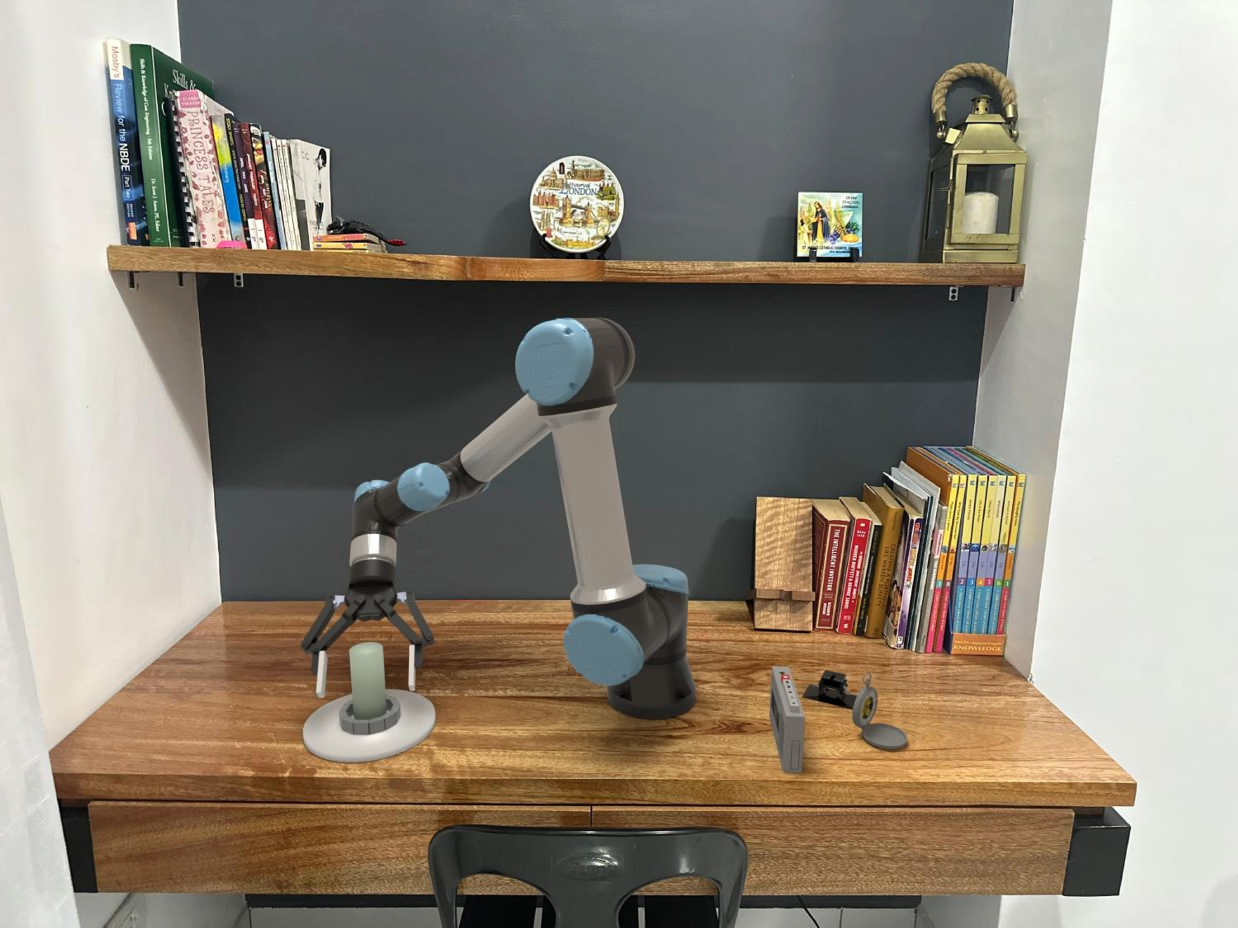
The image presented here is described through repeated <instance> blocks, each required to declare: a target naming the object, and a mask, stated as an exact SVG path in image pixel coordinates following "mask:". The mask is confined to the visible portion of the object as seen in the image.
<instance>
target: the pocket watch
mask: <svg viewBox="0 0 1238 928" xmlns="http://www.w3.org/2000/svg"><path fill="white" fill-rule="evenodd" d="M867 674H868V675H869V677H867V678H866V679H865V676H866V675H867ZM871 680H872V673H871V672H870V671H866V672H864V674H863V675H862V683H864V684H865V686H864V687H863V688H861V689H860V691H859V692H858V694H856V695H857V698H856V700H855V703H854V707H853V710H852V714H851V717H852V722H853V724H854V726H856V727H857V728H859V729H861V730H862V737H863V739H864V740H865V741H866V742H867V743H868V744H870V745H872V746H875V747H877V748H881V749H885V750H897V749H901V748H903V747H904V746H906V745H907V743H908V736H907V734H906V733H905V732H904V731H903V730H902V729H900V728H899V727H897V726H894V725H891V724H887V723H882V722H881V723H880V722H879V723H878V722H877V723H876V722H873V723H871V722H872V721H873V718H874V717H875V713H876V711H877V708H878V703H879V702H878V701H879V700H878V697H879V696H878V691H877V689H876V688H875V687H874V686H871Z"/></svg>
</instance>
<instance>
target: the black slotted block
mask: <svg viewBox="0 0 1238 928" xmlns="http://www.w3.org/2000/svg"><path fill="white" fill-rule="evenodd" d="M848 687H849V684H848V679H847V674H846V673H842V672H838V671H832V670H829V669H825V670H824V672H823V673H822V675H821V677H820V679H819V681H818V682H817V685H816V684H813V683H810V684H809V685H808V686H807V688H806V689H805V691H804V693H803V695H802V696H801V697H802V698H804V699H807V700H812V701H815V702H820V703H823V704H827V705H832V706H836V707H840V708H844V709H847V710H852V711H853V707H854V703H855V700H856V698H857V695H858V694H855V693H851V692H848Z"/></svg>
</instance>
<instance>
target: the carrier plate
mask: <svg viewBox="0 0 1238 928" xmlns="http://www.w3.org/2000/svg"><path fill="white" fill-rule="evenodd" d="M385 691H386V708H387V713H386V714H385V715H383V716H381V717H377V718H373V719H369V720H357V719H354V713H353V698H352V693H351V694H347V695H344V696H341V697H338V698H336V699H334V700H333V699H332V701H329V702H327V703H326V704H324V705H322V706H320V707H319V708H318V709H316V710H315V711H314V712H312V713H311V714H310V715H309V717H308V718H307V719H306V721H305V722H304V725H303V729H302V737H303V738H302V739H303V744H304V746H305V747H306V749H307V750H308V751H309V752H310V753H311V754H313V755H315V756H316V757H317V758H321V759H324V760H327V761H331V762H338V763H349V764H350V763H365V762H372V761H378V760H382V759H388V758H390V757H393V756H396V754H397V755H399V754H401V752H402V753H404V752H406V751H408V750H410V749H413V748H414V747H415V746H417V745H418V744H420V743H421V742H423V741H424V740H425V739H426V738H427V737H428V736H429V735H430V734H431V732H432V731H433V729H434V727H435V725H436V710H435V707H434V704H433V703H432V702H431V701H430V700H429V699H428V698H426V697H425V696H423V695H421V694H418V693H416V692H414V691H410V690H403V689H394V688H391V689H390V688H385Z"/></svg>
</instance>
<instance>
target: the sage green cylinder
mask: <svg viewBox="0 0 1238 928" xmlns="http://www.w3.org/2000/svg"><path fill="white" fill-rule="evenodd" d="M348 652H349V653H348V654H349V665H350V679H351V694H352V698H353V713H354V719H357V720H369V719H373V718H377V717H381V716H383V715H385V714H386V713H387V708H386V691H385V689H386V679H385V678H386V677H385V676H386V675H385V662H384V661H385V658H384V645H382V643H379V642H373V641H368V642H366V641H365V642H361V643H357V644H355V645H353V646H351V648H349V651H348Z"/></svg>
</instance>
